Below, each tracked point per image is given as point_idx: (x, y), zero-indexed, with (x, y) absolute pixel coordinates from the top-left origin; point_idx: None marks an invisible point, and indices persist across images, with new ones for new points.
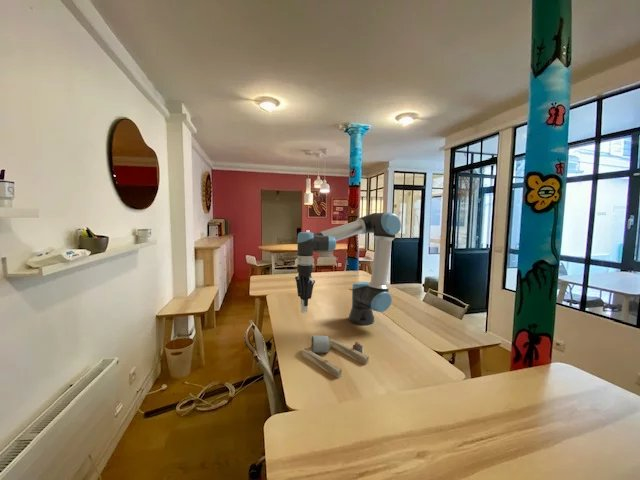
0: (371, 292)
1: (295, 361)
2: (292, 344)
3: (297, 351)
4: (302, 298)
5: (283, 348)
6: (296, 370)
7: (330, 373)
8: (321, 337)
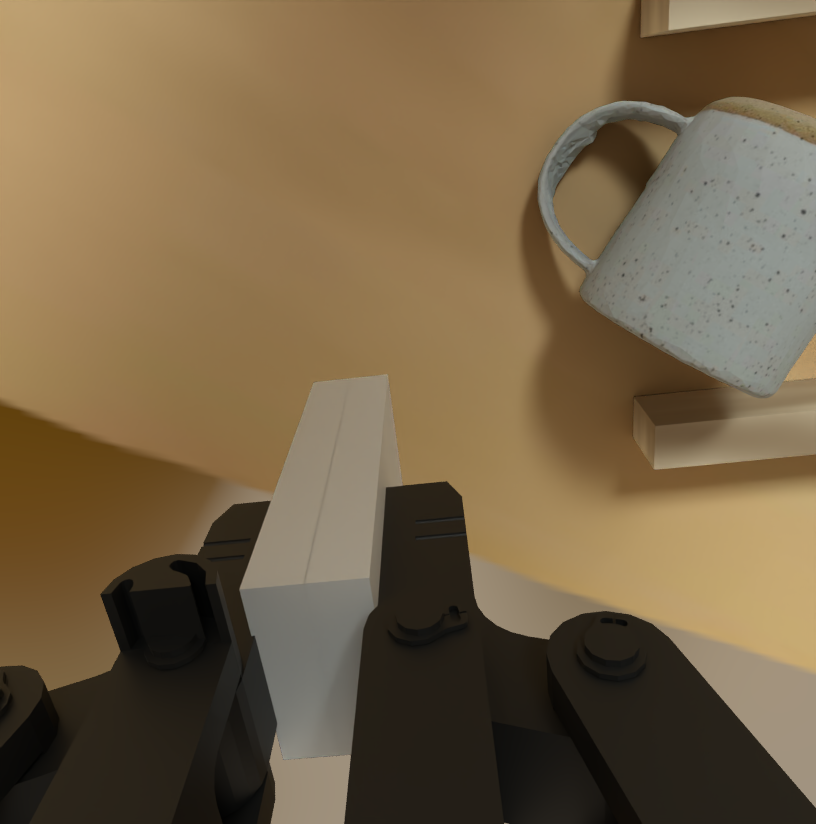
0: None
1: (676, 527)
2: None
3: (527, 429)
4: (274, 733)
5: None
6: (797, 581)
7: None
8: (812, 280)
